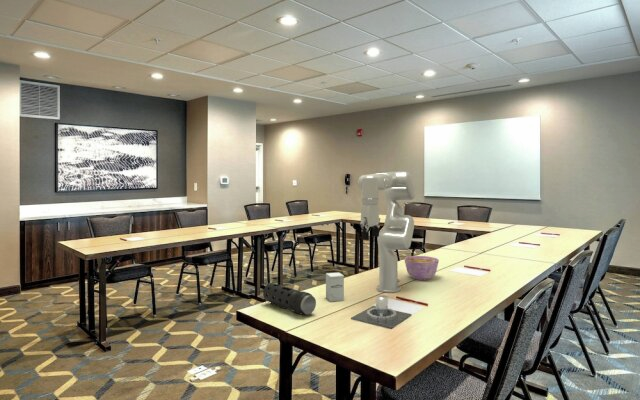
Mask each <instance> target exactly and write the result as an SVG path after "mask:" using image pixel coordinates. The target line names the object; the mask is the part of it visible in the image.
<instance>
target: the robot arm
mask: <svg viewBox="0 0 640 400" xmlns="http://www.w3.org/2000/svg"><path fill="white" fill-rule="evenodd" d="M357 186H358V188H359V190H361V200H362V201H361V204H362V205H361V212H360V222H359V225H360V229H361V239H362V241H369V240H370V231H369V229H370V228H372V237H375V238H377V245H378V253H379V255H378V256H379V258H378V259H379V261H378V262H379V264H378V265H379V285H377V286H376V290H377V291H378V292H381V293H387V294H388V293H390V294H391V293H398V292H400V291H401V287H400V286H399V283H400V282H401V279H399V278H398V256H397V254H396V252H395V250H400V251H406V250H409V249H410V248H411V244H412V239H413V234H414V229H415V220H414V218H413V216H411V215H408V214H404V208H403V206H402V205H401V204H400V203H399V202H398V201H413V200H414V199H416V196H417V195H416V194H417V191H416V186H415V184H414V181H413V178H412V176H411V174H410V172H408V171H387V172H379V173H371V174H362V175H360V176H359V178H358V181H357ZM379 191H384V196H385V201H386V205H387V212H386V216H385V219H384V223H383V224H384V230H383V231H380V222H381V218H380V214H379V213H380V211H379Z"/></svg>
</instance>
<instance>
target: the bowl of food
mask: <svg viewBox="0 0 640 400" xmlns="http://www.w3.org/2000/svg"><path fill="white" fill-rule="evenodd" d="M403 261H404V264H405V268H406V271H407V274H408V275H409V276H410V277H411V278H413V279H414V280H416V281H417V280H418V281H427V280H429V279H431V278H433V277H434V276H435V275H436V273H437V269H438V266H439V261H440V260H439V259H438V258H437V257H434V256H429V255H428V256H426V255H409V256H406V257H404V260H403Z"/></svg>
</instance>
